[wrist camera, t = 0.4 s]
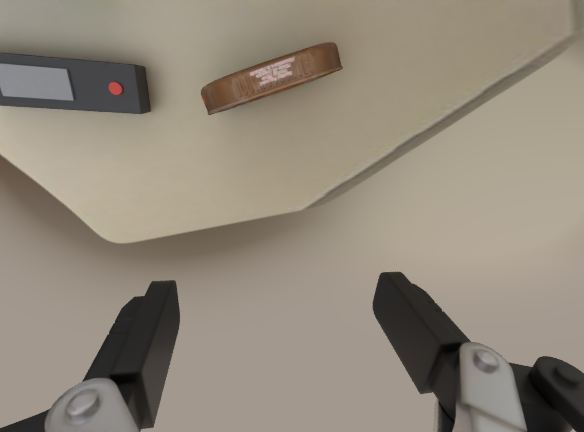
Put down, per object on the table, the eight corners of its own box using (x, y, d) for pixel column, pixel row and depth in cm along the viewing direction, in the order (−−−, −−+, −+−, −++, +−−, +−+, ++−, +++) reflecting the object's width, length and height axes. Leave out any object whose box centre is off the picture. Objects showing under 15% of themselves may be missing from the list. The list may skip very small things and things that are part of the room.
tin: (213, 114, 33) (205, 122, 26) (202, 87, 32) (190, 87, 24) (330, 74, 34) (355, 71, 26) (324, 45, 32) (349, 33, 25)
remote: (-17, 52, 28) (-53, 47, 24) (145, 67, 30) (133, 64, 27) (-1, 102, 29) (-31, 104, 26) (150, 111, 32) (140, 114, 29)
